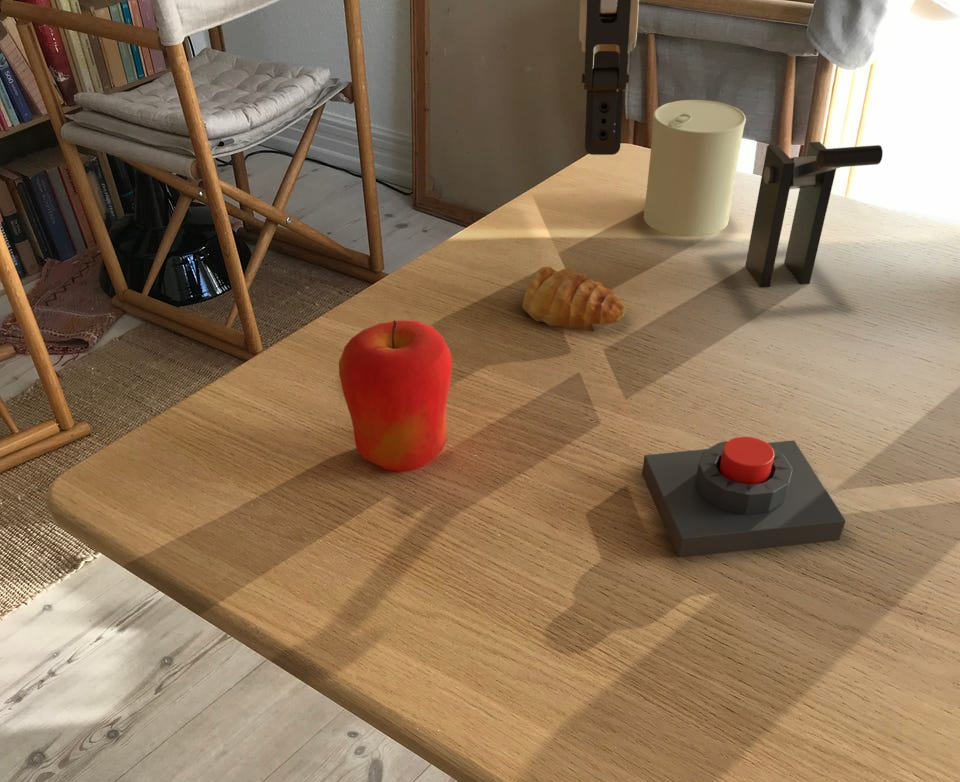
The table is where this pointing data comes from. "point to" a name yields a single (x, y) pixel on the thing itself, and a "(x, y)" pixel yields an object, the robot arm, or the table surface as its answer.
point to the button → (746, 460)
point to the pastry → (570, 300)
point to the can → (692, 167)
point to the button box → (739, 502)
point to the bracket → (772, 215)
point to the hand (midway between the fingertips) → (603, 126)
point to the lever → (832, 162)
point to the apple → (397, 393)
